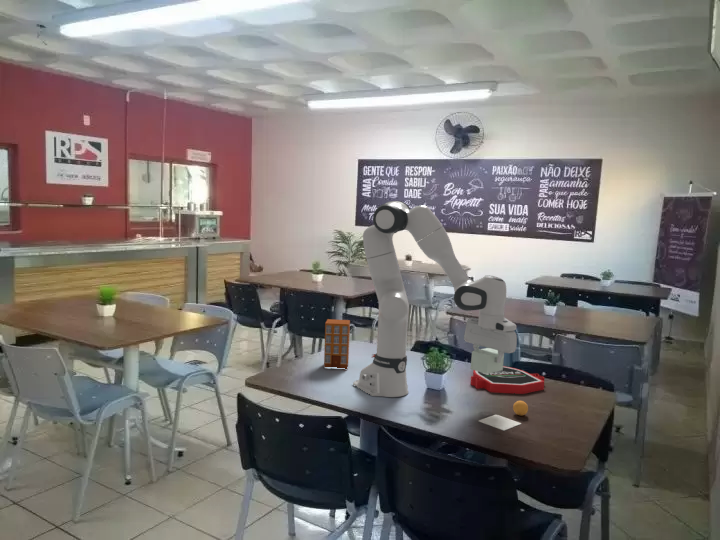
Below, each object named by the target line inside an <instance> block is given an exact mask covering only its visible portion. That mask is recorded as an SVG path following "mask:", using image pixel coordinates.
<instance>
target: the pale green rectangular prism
mask: <svg viewBox="0 0 720 540" xmlns="http://www.w3.org/2000/svg"><path fill="white" fill-rule="evenodd" d="M498 355H499V354H498V350H494V349H491V348H487V347H484V348H481V349H480V348H479V350H472V351H471V359H470V370H475V371H478V372H482V373H485V374H489V373H493V372H497V371H501V370H503V366H504V359H505V358H504V357H505V354H504V355H503V356H502V358H501V362H500V363H496V362H494V360H495V357H497V356H498Z"/></svg>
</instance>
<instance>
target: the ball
mask: <svg viewBox="0 0 720 540" xmlns="http://www.w3.org/2000/svg"><path fill="white" fill-rule="evenodd" d="M512 410H513V412H514V413H515V415H517V416H525V415H526V414H527V413H528V411H529V405H528V404H527V403H526V402H525V401H524V400H516V402H514V403H513V406H512Z"/></svg>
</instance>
